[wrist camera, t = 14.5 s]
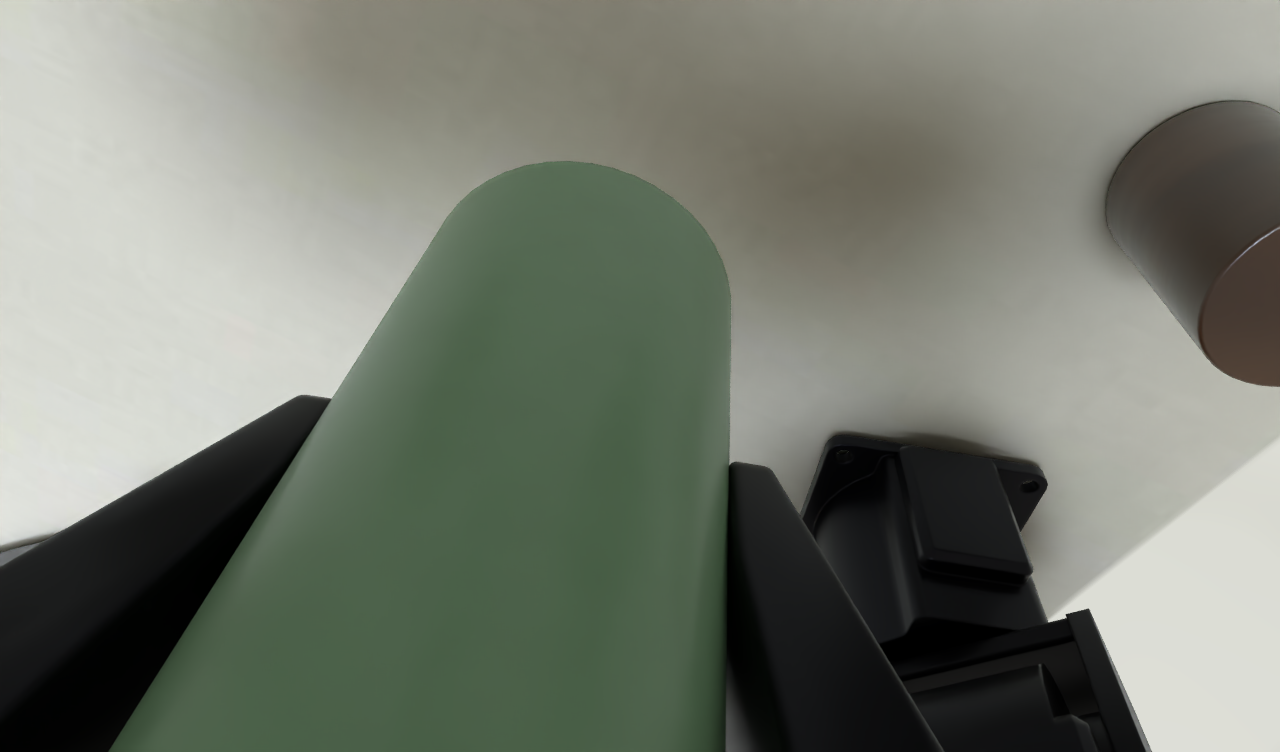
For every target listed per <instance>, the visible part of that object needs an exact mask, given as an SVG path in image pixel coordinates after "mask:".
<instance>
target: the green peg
mask: <svg viewBox="0 0 1280 752" xmlns="http://www.w3.org/2000/svg"><path fill="white" fill-rule="evenodd" d="M730 372H731V293H730V287H729V280H728V276H727V273H726V270H725V267H724V264H723V261H722V259H721V257H720V255H719V253H718V251H717V249H716V247H715V245H714V243H713V241H712V240H711V238H710V237H709V235H708V234H707V232H706V231H705V229H704V228H703V227H702V225H701V224H700V223H699V222H698V221H697V220H696V219H695V218H694V217H693V215H692V214H691V213H690V212H689V211H688V210H687V209H686V208H684V207H683V206H682V205H681V204H680V203H679V202H677V201H676V200H675V199H674V198H673V197H671V196H670V195H668V194H667V193H665V192H664V191H662V190H661V189H659V188H658V187H656V186H655V185H653V184H651V183H649V182H647V181H645V180H643V179H641V178H639V177H637V176H635V175H632V174H629V173H626V172H624V171H621V170H618V169H615V168H611V167H607V166H602V165H598V164H593V163H584V162H573V161H561V162H544V163H538V164H532V165H526V166H523V167H520V168H516V169H513V170H510V171H507V172H504V173H502V174H500V175H498V176H496V177H494V178H492V179H490V180H488V181H486V182H485V183H483V184H482V185H480V186H479V187H477V188H476V189H474V190H473V191H471V192H470V193H469V194H468V195H467V196H466V197H465V198H464V199H463V200H461V201H460V202H459V203H458V204H457V205H456V207H455V208H454V209H453V211H452V212H451V213H450V214H449V216H448V217H447V218H446V220H445V221H444V223H443V224H442V226H441V228H440V229H439V231H438V232H437V234H436V235H435V237H434V239H433V240H432V242H431V243H430V245H429V246H428V248H427V250H426V251H425V253H424V254H423V256H422V257H421V259H420V261H419V262H418V264H417V265H416V267H415V269H414V270H413V272H412V273H411V275H410V276H409V278H408V280H407V281H406V283H405V284H404V286H403V287H402V289H401V291H400V292H399V294H398V295H397V297H396V299H395V300H394V302H393V303H392V305H391V306H390V308H389V310H388V311H387V313H386V314H385V316H384V317H383V319H382V321H381V322H380V324H379V325H378V327H377V329H376V330H375V332H374V333H373V335H372V336H371V338H370V340H369V341H368V343H367V344H366V346H365V347H364V349H363V351H362V352H361V354H360V355H359V357H358V358H357V360H356V362H355V363H354V365H353V366H352V368H351V370H350V371H349V373H348V374H347V376H346V377H345V379H344V381H343V382H342V384H341V385H340V387H339V388H338V390H337V392H336V393H335V395H334V396H333V398H332V400H331V401H330V403H329V404H328V406H327V407H326V409H325V411H324V412H323V414H322V415H321V417H320V418H319V420H318V422H317V423H316V425H315V426H314V428H313V429H312V431H311V433H310V434H309V436H308V437H307V439H306V441H305V442H304V444H303V445H302V447H301V448H300V450H299V452H298V453H297V455H296V456H295V458H294V459H293V461H292V463H291V464H290V466H289V467H288V469H287V471H286V472H285V474H284V475H283V477H282V478H281V480H280V482H279V483H278V485H277V486H276V488H275V489H274V491H273V493H272V494H271V496H270V497H269V499H268V500H267V502H266V504H265V505H264V507H263V508H262V510H261V512H260V513H259V515H258V516H257V518H256V519H255V521H254V523H253V524H252V526H251V527H250V529H249V530H248V532H247V534H246V535H245V537H244V538H243V540H242V542H241V543H240V545H239V546H238V548H237V549H236V551H235V553H234V554H233V556H232V557H231V559H230V560H229V562H228V564H227V565H226V567H225V568H224V570H223V571H222V573H221V575H220V576H219V578H218V579H217V581H216V583H215V584H214V586H213V587H212V589H211V590H210V592H209V594H208V595H207V597H206V598H205V600H204V601H203V603H202V605H201V606H200V608H199V609H198V611H197V613H196V614H195V616H194V617H193V619H192V620H191V622H190V624H189V625H188V627H187V628H186V630H185V631H184V633H183V635H182V636H181V638H180V639H179V641H178V643H177V644H176V646H175V647H174V649H173V650H172V652H171V654H170V655H169V657H168V658H167V660H166V661H165V663H164V665H163V666H162V668H161V669H160V671H159V672H158V674H157V676H156V677H155V679H154V680H153V682H152V684H151V685H150V687H149V688H148V690H147V691H146V693H145V695H144V696H143V698H142V699H141V701H140V702H139V704H138V706H137V707H136V709H135V710H134V712H133V714H132V715H131V717H130V718H129V720H128V721H127V723H126V725H125V726H124V728H123V729H122V731H121V732H120V734H119V736H118V737H117V739H116V740H115V742H114V743H113V745H112V747H111V748H110V750H109V751H108V752H726V680H727V603H728V505H729V449H730Z"/></svg>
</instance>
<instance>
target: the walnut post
mask: <svg viewBox="0 0 1280 752" xmlns="http://www.w3.org/2000/svg"><path fill="white" fill-rule="evenodd" d="M1106 217H1107V223H1108V226H1109V229H1110V232H1111V234H1112V236H1113V237H1114V239H1115V241H1116V242H1117V243H1118V245H1119V246H1120V247H1121V248H1122V250H1123V251H1124V252H1125V254H1126V255H1127V256H1128V257H1129V259H1130V260H1131V261H1132V263H1133V264H1134V265H1135V266H1136V268H1137V269H1138V270H1139V272H1140V273H1141V274H1142V275H1143V277H1144V278H1145V279H1146V281H1147V282H1148V283H1149V284H1150V286H1151V287H1152V288H1153V290H1154V291H1155V292H1156V293H1157V295H1158V296H1159V297H1160V299H1161V300H1162V301H1163V302H1164V304H1165V305H1166V306H1167V308H1168V309H1169V310H1170V311H1171V313H1172V314H1173V315H1174V317H1175V318H1176V319H1177V320H1178V322H1179V323H1180V324H1181V326H1182V327H1183V328H1184V329H1185V331H1186V332H1187V333H1188V335H1189V336H1190V337H1191V338H1192V340H1193V341H1194V342H1195V343H1196V345H1197V346H1198V347H1199V349H1200V350H1201V351H1202V352H1203V354H1204V355H1205V356H1206V358H1207V359H1208V360H1209V361H1210V362H1211V363H1212V364H1213V365H1214V366H1215V367H1216V368H1217V369H1219V370H1220V371H1221V372H1223V373H1225V374H1227V375H1229V376H1230V377H1232V378H1235V379H1238V380H1241V381H1243V382H1247V383H1251V384H1256V385H1262V386H1274V387H1280V113H1278V112H1277V111H1275V110H1274V109H1271V108H1269V107H1266V106H1264V105H1260V104H1256V103H1252V102H1242V101H1230V102H1220V103H1213V104H1208V105H1205V106H1201V107H1197V108H1194V109H1192V110H1189V111H1186V112H1184V113H1182V114H1180V115H1177V116H1175V117H1173V118H1171V119H1170V120H1168V121H1166V122H1165V123H1163V124H1161V125H1160V126H1158V127H1157V128H1156V129H1154V130H1153V131H1152V132H1150V133H1149V134H1148V135H1147V136H1145V137H1144V138H1143V139H1142V140H1141V141H1140V142H1139V143H1138V144H1137V145H1136V146H1135V147H1134V148H1133V149H1132V150H1131V151H1130V152H1129V154H1128V155H1127V156H1126V158H1125V159H1124V160H1123V162H1122V163H1121V165H1120V166H1119V168H1118V170H1117V172H1116V173H1115V175H1114V178H1113V180H1112V182H1111V185H1110V188H1109V192H1108V196H1107V203H1106Z"/></svg>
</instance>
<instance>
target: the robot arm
mask: <svg viewBox="0 0 1280 752" xmlns="http://www.w3.org/2000/svg"><path fill="white" fill-rule="evenodd" d="M331 400H332V399H330V398H324V397H317V396H311V395H300V396H297V397H295V398H293V399H291V400H289V401H288V402H286V403H284V404H282V405H281V406H279V407H277V408H275V409H274V410H272V411H270V412H268V413H267V414H265V415H263V416H262V417H260V418H258V419H256V420H255V421H253V422H251V423H249V424H248V425H246V426H244V427H242V428H241V429H239V430H237V431H235V432H234V433H232V434H230V435H228V436H227V437H225V438H223V439H221V440H220V441H218V442H216V443H214V444H213V445H211V446H209V447H207V448H206V449H204V450H202V451H200V452H199V453H197V454H195V455H194V456H192V457H190V458H188V459H187V460H185V461H183V462H181V463H180V464H178V465H176V466H174V467H173V468H171V469H169V470H167V471H166V472H164V473H162V474H160V475H159V476H157V477H155V478H153V479H152V480H150V481H148V482H146V483H145V484H143V485H141V486H139V487H138V488H136V489H134V490H133V491H131V492H129V493H127V494H126V495H124V496H122V497H120V498H119V499H117V500H115V501H113V502H112V503H110V504H108V505H106V506H105V507H103V508H101V509H99V510H98V511H96V512H94V513H92V514H91V515H89V516H87V517H85V518H84V519H82V520H80V521H78V522H77V523H75V524H73V525H72V526H70V527H68V528H66V529H65V530H63V531H61V532H59V533H58V534H56V535H54V536H52V537H51V538H49V539H47V540H45V541H44V542H42V543H40V544H38V545H37V546H35V547H33V548H31V549H30V550H28V551H26V552H24V553H23V554H21V555H19V556H17V557H16V558H14V559H12V560H11V561H9V562H7V563H5V564H4V565H2V566H0V752H108V751H109V750H110V748H111V747H112V745H113V743H114V742H115V740H116V739H117V737H118V736H119V734H120V732H121V731H122V729H123V728H124V726H125V725H126V723H127V721H128V720H129V718H130V717H131V715H132V714H133V712H134V710H135V709H136V707H137V706H138V704H139V702H140V701H141V699H142V698H143V696H144V695H145V693H146V691H147V690H148V688H149V687H150V685H151V684H152V682H153V680H154V679H155V677H156V676H157V674H158V672H159V671H160V669H161V668H162V666H163V665H164V663H165V661H166V660H167V658H168V657H169V655H170V654H171V652H172V650H173V649H174V647H175V646H176V644H177V643H178V641H179V639H180V638H181V636H182V635H183V633H184V631H185V630H186V628H187V627H188V625H189V624H190V622H191V620H192V619H193V617H194V616H195V614H196V613H197V611H198V609H199V608H200V606H201V605H202V603H203V601H204V600H205V598H206V597H207V595H208V594H209V592H210V590H211V589H212V587H213V586H214V584H215V583H216V581H217V579H218V578H219V576H220V575H221V573H222V571H223V570H224V568H225V567H226V565H227V564H228V562H229V560H230V559H231V557H232V556H233V554H234V553H235V551H236V549H237V548H238V546H239V545H240V543H241V542H242V540H243V538H244V537H245V535H246V534H247V532H248V530H249V529H250V527H251V526H252V524H253V523H254V521H255V519H256V518H257V516H258V515H259V513H260V512H261V510H262V508H263V507H264V505H265V504H266V502H267V500H268V499H269V497H270V496H271V494H272V493H273V491H274V489H275V488H276V486H277V485H278V483H279V482H280V480H281V478H282V477H283V475H284V474H285V472H286V471H287V469H288V467H289V466H290V464H291V463H292V461H293V459H294V458H295V456H296V455H297V453H298V452H299V450H300V448H301V447H302V445H303V444H304V442H305V441H306V439H307V437H308V436H309V434H310V433H311V431H312V429H313V428H314V426H315V425H316V423H317V422H318V420H319V418H320V417H321V415H322V414H323V412H324V411H325V409H326V407H327V406H328V404H329V403H330V401H331ZM842 450H846V451H849V452H848V453H845V454H838V453H837V452H839V451H842ZM1026 481H1031V482H1029V483H1026V484H1023V483H1024V482H1026ZM1047 486H1048V484H1047V480H1046V478H1045V476H1044V473H1043V471H1042V470H1041V469H1040V468H1039V467H1036V466H1033V465H1028V464H1022V463H1016V462H1010V461H1003V460H997V459H991V458H985V457H979V456H973V455H966V454H960V453H954V452H948V451H942V450H936V449H929V448H923V447H917V446H911V445H905V444H898V443H892V442H886V441H880V440H874V439H868V438H861V437H855V436H849V435H839V436H835V437H833V438H831V439H830V440H828V442H827V443H826V445H825V447H824V450H823V453H822V456H821V459H820V461H819V464H818V467H817V470H816V472H815V475H814V478H813V481H812V483H811V486H810V489H809V492H808V494H807V497H806V500H805V503H804V506H803V508H802V511H801V514H800V515H799V513H798V512H797V510H796V508H795V507H794V505H793V504H792V502H791V500H790V499H789V497H788V495H787V494H786V492H785V490H784V489H783V487H782V486H781V484H780V482H779V481H778V479H777V477H776V476H775V474H774V473H773V471H772V470H771V469H770V468H768V467H766V466H761V465H755V464H749V463H742V462H733V463H732V464H731V465H730V466H729V505H728V603H727V680H726V752H1152V751H1151V749H1150V746H1149V744H1148V741H1147V739H1146V737H1145V734H1144V732H1143V730H1142V727H1141V725H1140V722H1139V720H1138V718H1137V715H1136V713H1135V711H1134V708H1133V706H1132V704H1131V702H1130V700H1129V697H1128V695H1127V693H1126V690H1125V688H1124V686H1123V684H1122V681H1121V679H1120V677H1119V675H1118V672H1117V670H1116V668H1115V666H1114V664H1113V661H1112V659H1111V657H1110V655H1109V652H1108V650H1107V648H1106V646H1105V643H1104V641H1103V639H1102V637H1101V635H1100V632H1099V630H1098V628H1097V626H1096V623H1095V621H1094V619H1093V617H1092V614H1091V612H1090V610H1089V609H1086V610H1081V611H1077V612H1073V613H1070V614H1066V617H1067V618H1065V619H1061V620H1058V621H1053V622H1049V623H1048V620H1047V618H1046V615H1045V612H1044V609H1043V607H1042V604H1041V601H1040V598H1039V595H1038V593H1037V590H1036V587H1035V584H1034V581H1033V579H1032V576H1031V574H1032V573H1033V566H1032V563H1031V560H1030V558H1029V555H1028V552H1027V549H1026V547H1025V544H1024V541H1023V538H1022V536H1021V533H1020V532H1021V530H1022V529H1023V527H1024V525H1025V524H1026V522H1027V521H1028V519H1029V517H1030V516H1031V514H1032V512H1033V511H1034V509H1035V507H1036V506H1037V504H1038V502H1039V501H1040V499H1041V497H1042V496H1043V494H1044V493H1045V491H1046V489H1047Z"/></svg>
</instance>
